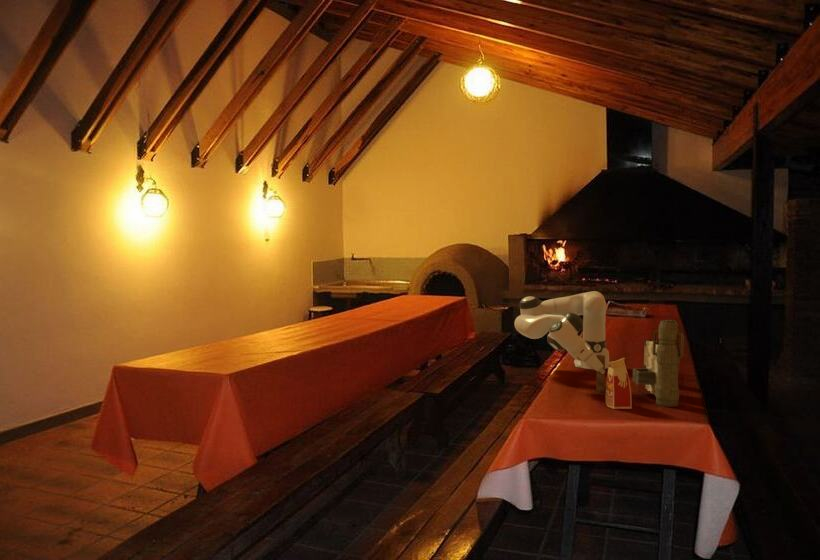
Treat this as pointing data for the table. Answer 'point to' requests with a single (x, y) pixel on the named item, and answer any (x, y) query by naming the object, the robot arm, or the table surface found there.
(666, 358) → the thermos
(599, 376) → the cylinder
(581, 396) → the table surface
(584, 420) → the table surface
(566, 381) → the table surface
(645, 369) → the bracket
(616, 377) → the milk carton
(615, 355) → the table surface
